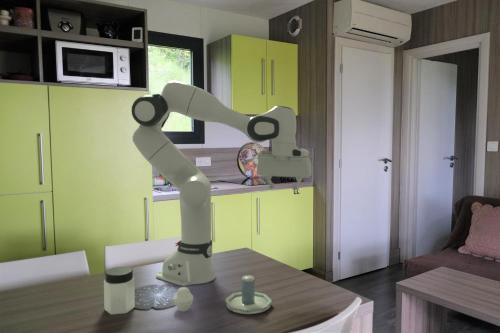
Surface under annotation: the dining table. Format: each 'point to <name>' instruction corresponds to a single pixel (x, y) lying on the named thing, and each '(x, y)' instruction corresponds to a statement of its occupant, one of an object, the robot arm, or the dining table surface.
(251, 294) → the ball
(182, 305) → the muffin
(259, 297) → the plate
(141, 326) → the dining table surface
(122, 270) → the jar
